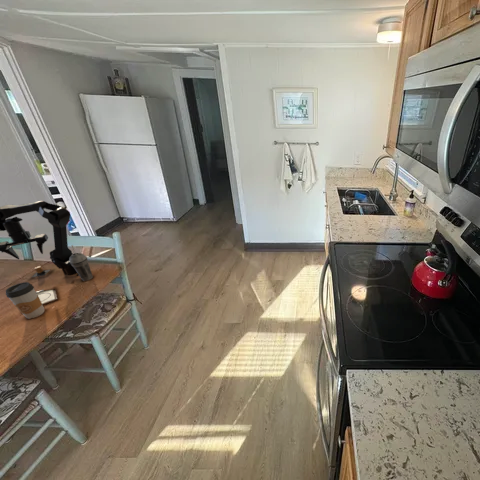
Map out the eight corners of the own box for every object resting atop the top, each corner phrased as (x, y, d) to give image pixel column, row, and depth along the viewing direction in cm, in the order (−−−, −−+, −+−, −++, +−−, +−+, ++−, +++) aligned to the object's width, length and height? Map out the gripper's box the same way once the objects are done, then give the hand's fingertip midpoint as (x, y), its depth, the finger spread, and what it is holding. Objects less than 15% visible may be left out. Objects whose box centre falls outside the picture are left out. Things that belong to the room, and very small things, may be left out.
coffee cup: (18, 322, 115) (-1, 295, 108) (28, 310, 122) (10, 284, 115) (43, 317, 118) (25, 290, 111) (51, 305, 125) (35, 279, 118)
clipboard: (54, 287, 137) (53, 285, 137) (57, 299, 129) (56, 297, 128) (22, 298, 130) (20, 296, 129) (23, 312, 121) (21, 310, 120)
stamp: (46, 271, 149) (42, 265, 148) (43, 274, 147) (39, 268, 145) (39, 272, 148) (35, 266, 147) (35, 275, 146) (32, 269, 144)
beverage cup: (77, 283, 140) (59, 251, 131) (81, 276, 146) (64, 244, 136) (94, 280, 143) (78, 247, 134) (97, 273, 149) (82, 241, 139)
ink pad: (53, 270, 152) (52, 268, 151) (46, 276, 146) (45, 275, 146) (37, 272, 150) (37, 271, 150) (30, 279, 144) (29, 278, 144)
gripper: (42, 220, 146) (55, 245, 153) (-7, 229, 136) (10, 255, 143) (39, 227, 138) (53, 253, 145) (-14, 237, 128) (4, 264, 135)
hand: (30, 256), depth 142 cm, fingers open, 9 cm apart
